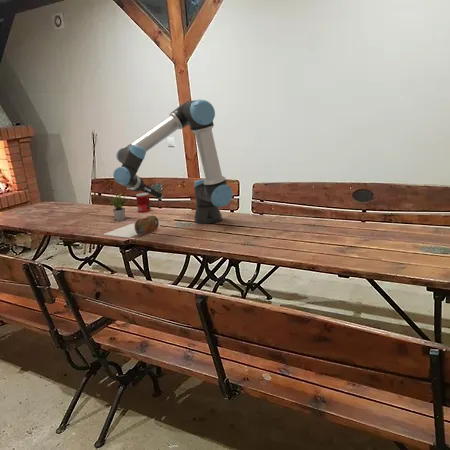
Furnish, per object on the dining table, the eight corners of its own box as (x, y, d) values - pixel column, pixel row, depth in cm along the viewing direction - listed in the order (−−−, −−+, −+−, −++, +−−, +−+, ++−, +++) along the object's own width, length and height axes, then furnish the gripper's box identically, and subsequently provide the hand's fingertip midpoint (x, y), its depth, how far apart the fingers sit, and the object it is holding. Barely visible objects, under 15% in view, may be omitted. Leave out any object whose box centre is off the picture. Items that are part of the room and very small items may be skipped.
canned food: (150, 211, 285) (148, 194, 282) (137, 213, 284) (135, 195, 281) (151, 209, 292) (149, 192, 289) (138, 210, 292) (136, 193, 289)
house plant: (115, 224, 261) (111, 196, 257) (102, 221, 271) (98, 194, 266) (135, 218, 271) (132, 191, 267) (122, 215, 280) (118, 189, 276)
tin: (138, 237, 231) (136, 221, 229) (134, 236, 233) (132, 220, 231) (159, 229, 243) (157, 214, 240) (155, 228, 245) (153, 213, 242)
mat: (157, 226, 248) (157, 226, 248) (129, 238, 230) (128, 237, 230) (132, 224, 258) (132, 223, 258) (103, 235, 241) (102, 234, 241)
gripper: (109, 179, 223) (128, 189, 244) (152, 199, 217) (167, 208, 237) (116, 166, 224) (134, 177, 244) (158, 185, 217) (173, 195, 238)
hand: (150, 192), depth 241 cm, fingers open, 13 cm apart
